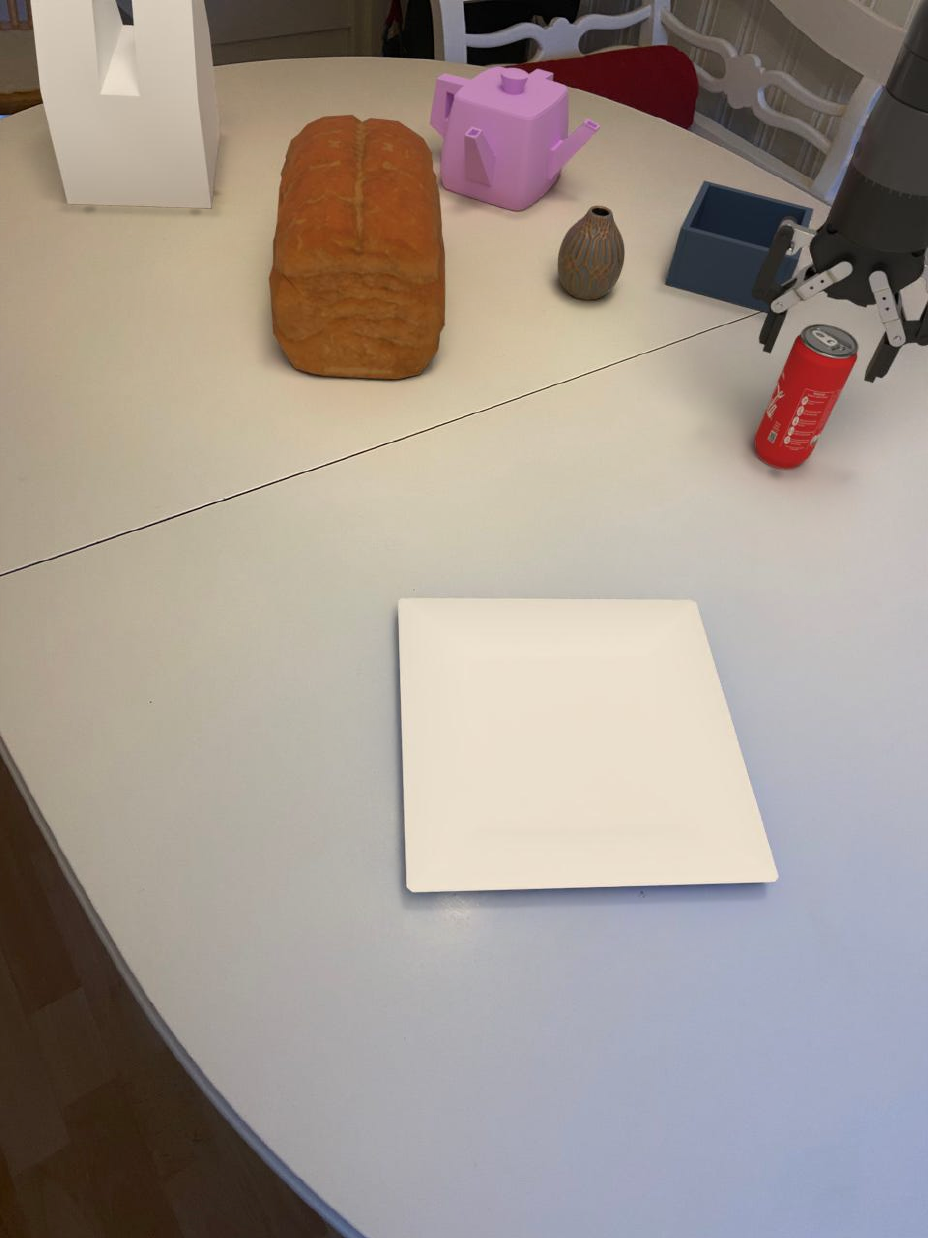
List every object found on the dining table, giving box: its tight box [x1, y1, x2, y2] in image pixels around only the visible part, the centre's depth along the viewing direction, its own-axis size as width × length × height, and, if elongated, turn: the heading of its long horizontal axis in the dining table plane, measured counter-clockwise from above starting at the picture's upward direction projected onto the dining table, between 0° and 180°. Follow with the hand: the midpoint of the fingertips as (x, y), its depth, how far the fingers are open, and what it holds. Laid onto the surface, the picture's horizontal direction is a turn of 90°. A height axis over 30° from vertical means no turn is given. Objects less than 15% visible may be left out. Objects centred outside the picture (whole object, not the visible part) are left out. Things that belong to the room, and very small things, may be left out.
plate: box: [397, 597, 780, 893], centre depth 62 cm, size 22×22×2 cm
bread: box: [268, 114, 446, 380], centre depth 89 cm, size 16×27×16 cm, turn 3°
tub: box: [664, 180, 814, 314], centre depth 103 cm, size 13×13×6 cm
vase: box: [556, 205, 626, 301], centre depth 97 cm, size 7×7×9 cm
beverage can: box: [754, 323, 859, 470], centre depth 80 cm, size 5×5×12 cm
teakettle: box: [429, 65, 601, 212], centre depth 110 cm, size 17×17×12 cm
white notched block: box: [30, 0, 221, 209], centre depth 100 cm, size 19×15×25 cm
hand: (817, 362), depth 77 cm, fingers open, 8 cm apart
